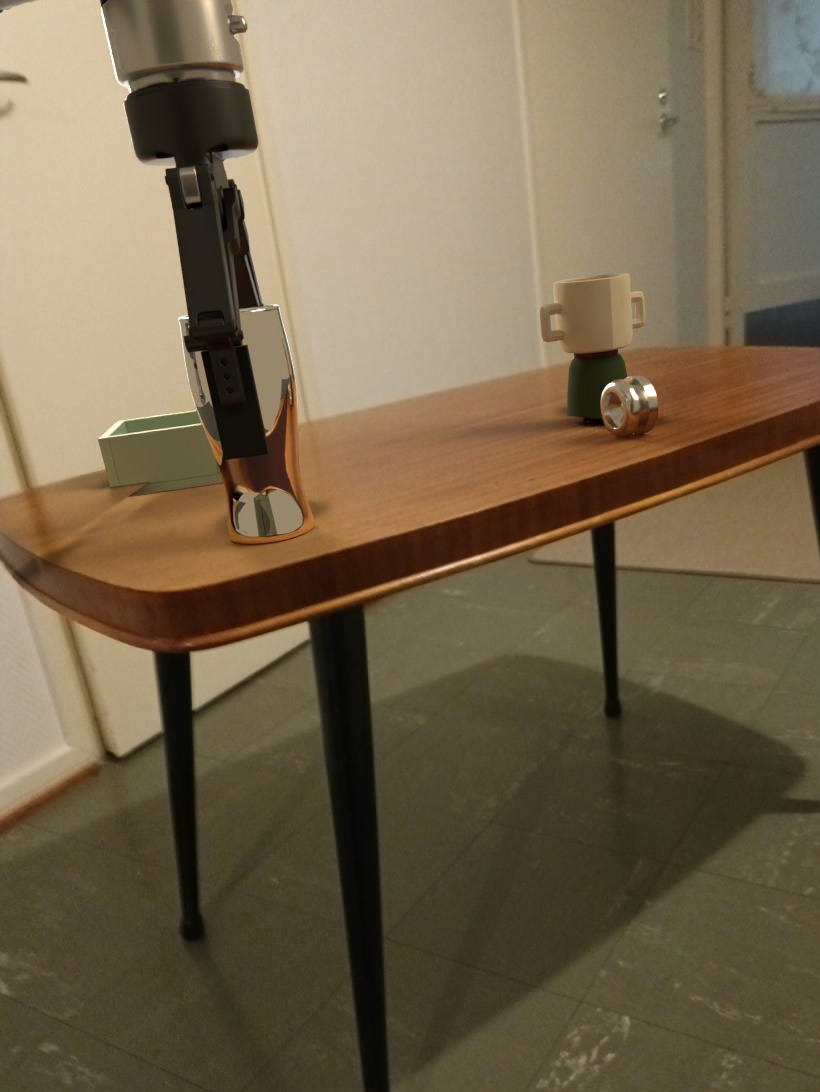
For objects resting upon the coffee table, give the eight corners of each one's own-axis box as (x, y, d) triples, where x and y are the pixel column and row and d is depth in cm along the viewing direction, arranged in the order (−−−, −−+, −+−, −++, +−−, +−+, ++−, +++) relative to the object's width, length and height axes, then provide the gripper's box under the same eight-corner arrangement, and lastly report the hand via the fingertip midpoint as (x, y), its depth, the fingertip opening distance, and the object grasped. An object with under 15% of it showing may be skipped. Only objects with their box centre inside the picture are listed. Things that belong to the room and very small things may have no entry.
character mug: (631, 406, 100) (624, 270, 95) (668, 414, 94) (663, 270, 89) (533, 424, 97) (521, 285, 92) (566, 434, 90) (554, 285, 85)
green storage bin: (113, 499, 86) (97, 438, 84) (130, 475, 96) (117, 420, 94) (229, 482, 87) (216, 422, 85) (235, 460, 97) (224, 406, 95)
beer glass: (202, 544, 69) (151, 321, 63) (266, 516, 74) (224, 308, 69) (280, 548, 65) (233, 313, 60) (340, 518, 71) (303, 301, 65)
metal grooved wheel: (659, 436, 85) (657, 377, 83) (631, 442, 84) (627, 383, 82) (626, 429, 89) (623, 373, 87) (599, 435, 88) (595, 378, 86)
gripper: (221, 37, 48) (302, 465, 56) (264, 107, 71) (317, 403, 79) (65, 55, 47) (170, 484, 55) (159, 120, 71) (224, 416, 79)
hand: (257, 437), depth 67 cm, fingers open, 13 cm apart
